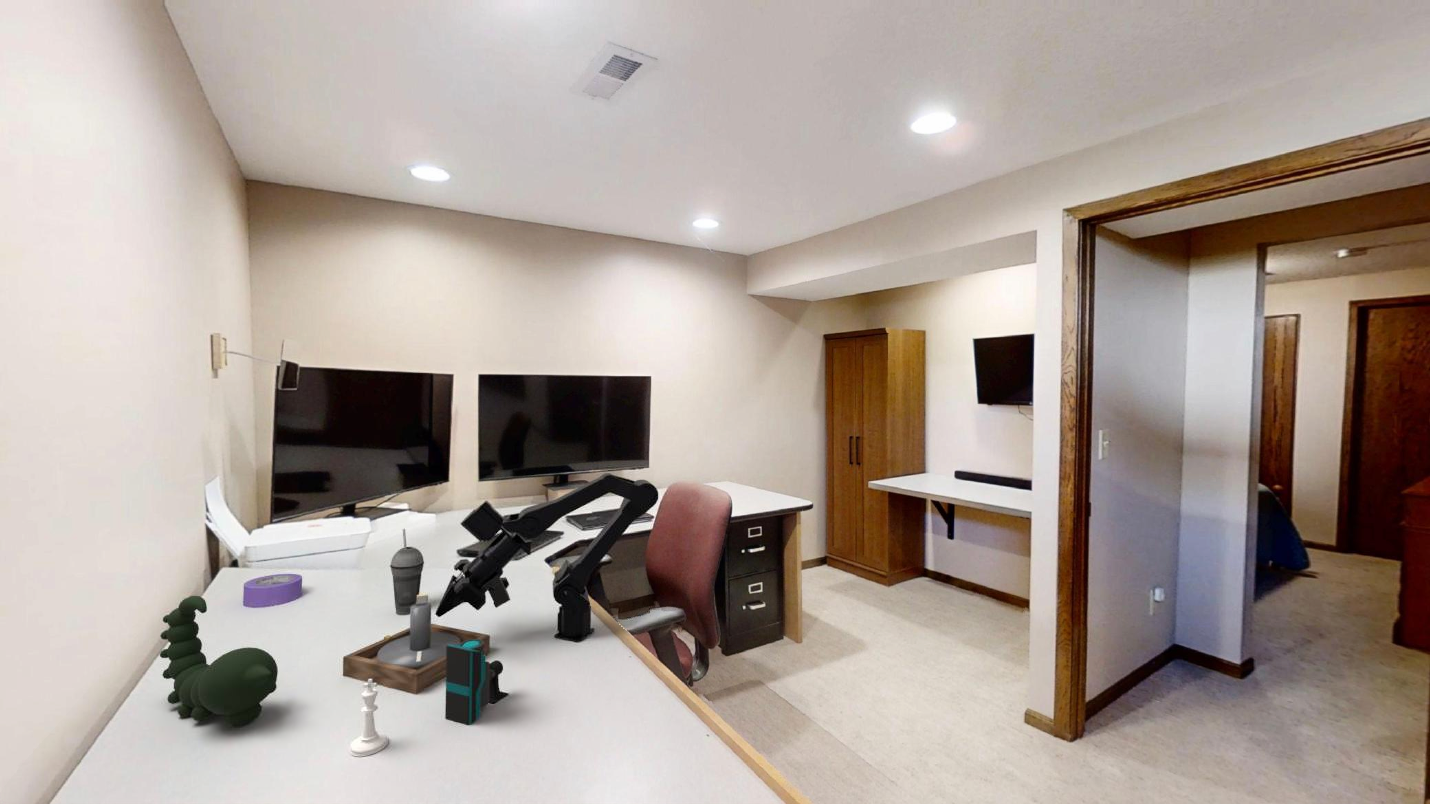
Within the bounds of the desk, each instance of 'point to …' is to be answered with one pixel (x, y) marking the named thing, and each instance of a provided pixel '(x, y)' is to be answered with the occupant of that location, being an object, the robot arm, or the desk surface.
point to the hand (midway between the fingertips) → (437, 615)
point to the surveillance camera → (470, 681)
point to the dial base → (399, 677)
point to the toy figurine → (214, 672)
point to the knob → (418, 640)
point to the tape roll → (272, 590)
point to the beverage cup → (406, 577)
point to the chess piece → (369, 727)
